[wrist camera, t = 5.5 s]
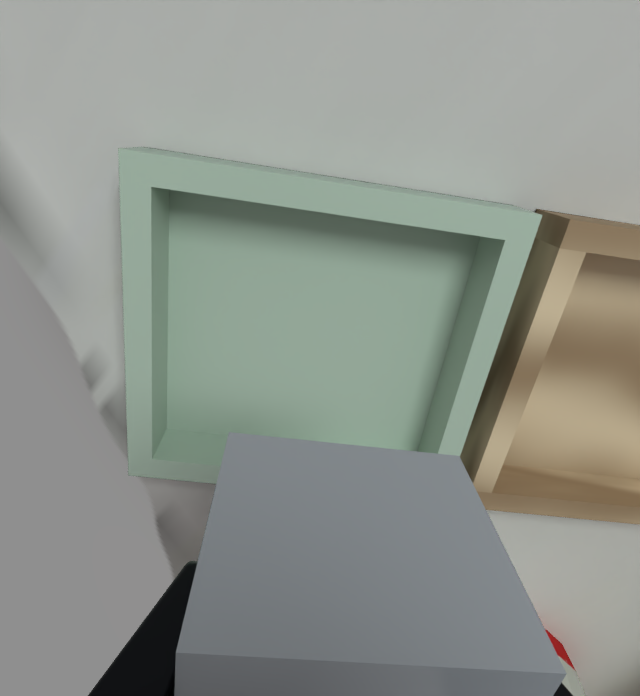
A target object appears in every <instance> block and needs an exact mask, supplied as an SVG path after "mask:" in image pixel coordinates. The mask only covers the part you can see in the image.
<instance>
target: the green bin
mask: <svg viewBox="0 0 640 696" xmlns="http://www.w3.org/2000/svg"><path fill="white" fill-rule="evenodd" d="M118 155H119V187H120V220H121V252H122V284H123V317H124V349H125V381H126V414H127V446H128V475H129V476H138V477H149V478H159V479H170V480H180V481H191V482H201V483H212V484H216V483H217V479H218V475H219V471H220V467H221V463H222V459H223V454H224V450H225V446H226V442H227V438H228V434H229V432H233V433H242V434H252V435H262V436H271V437H281V438H291V439H301V440H310V441H320V442H330V443H339V444H349V445H359V446H368V447H378V448H388V449H398V450H407V451H417V452H427V453H436V454H446V455H456V456H460V455H461V452H462V449H463V446H464V443H465V440H466V438H467V435H468V432H469V429H470V426H471V423H472V420H473V417H474V414H475V411H476V408H477V405H478V402H479V400H480V397H481V394H482V391H483V388H484V385H485V382H486V379H487V376H488V373H489V370H490V367H491V364H492V362H493V359H494V356H495V353H496V350H497V347H498V344H499V341H500V338H501V335H502V332H503V329H504V326H505V324H506V321H507V318H508V315H509V312H510V309H511V306H512V303H513V300H514V297H515V294H516V291H517V288H518V286H519V283H520V280H521V277H522V274H523V271H524V268H525V265H526V262H527V259H528V256H529V253H530V250H531V248H532V245H533V242H534V239H535V236H536V233H537V230H538V227H539V224H540V221H541V218H542V215H541V214H538V213H535V212H532V211H529V210H526V209H523V208H520V207H516V206H513V205H508V204H502V203H496V202H489V201H483V200H477V199H470V198H464V197H458V196H451V195H445V194H439V193H432V192H426V191H420V190H413V189H407V188H401V187H394V186H388V185H382V184H375V183H369V182H363V181H356V180H350V179H344V178H337V177H331V176H325V175H318V174H312V173H306V172H300V171H293V170H287V169H281V168H274V167H268V166H262V165H255V164H249V163H243V162H236V161H230V160H224V159H217V158H211V157H205V156H198V155H192V154H186V153H179V152H173V151H167V150H160V149H154V148H148V147H133V148H118Z"/></svg>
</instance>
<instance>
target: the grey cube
mask: <svg viewBox="0 0 640 696" xmlns="http://www.w3.org/2000/svg"><path fill="white" fill-rule="evenodd" d="M566 674H567V673H566V671H565V669H564V667H563V665H562V663H561V661H560V659H559V657H558V655H557V653H556V651H555V649H554V647H553V645H552V643H551V641H550V639H549V637H548V635H547V633H546V631H545V629H544V627H543V625H542V623H541V621H540V619H539V617H538V614H537V612H536V610H535V608H534V606H533V604H532V602H531V600H530V598H529V596H528V594H527V592H526V590H525V588H524V586H523V584H522V582H521V580H520V578H519V576H518V574H517V572H516V570H515V568H514V566H513V564H512V562H511V560H510V558H509V556H508V554H507V552H506V550H505V548H504V546H503V544H502V542H501V540H500V537H499V535H498V533H497V531H496V529H495V527H494V525H493V523H492V521H491V519H490V517H489V515H488V513H487V511H486V509H485V507H484V505H483V503H482V501H481V499H480V497H479V495H478V493H477V491H476V489H475V487H474V485H473V483H472V481H471V479H470V477H469V475H468V473H467V471H466V469H465V467H464V465H463V463H462V460H461V458H460V456H456V455H446V454H436V453H427V452H417V451H407V450H398V449H388V448H378V447H368V446H359V445H349V444H339V443H330V442H320V441H310V440H301V439H291V438H281V437H271V436H262V435H252V434H242V433H233V432H229V434H228V438H227V442H226V446H225V450H224V454H223V459H222V463H221V467H220V471H219V475H218V479H217V483H216V488H215V492H214V496H213V500H212V504H211V508H210V513H209V517H208V521H207V525H206V529H205V533H204V537H203V542H202V546H201V550H200V554H199V558H198V562H197V567H196V571H195V575H194V579H193V583H192V587H191V591H190V596H189V600H188V604H187V608H186V612H185V616H184V621H183V625H182V629H181V633H180V637H179V641H178V646H177V650H176V661H175V690H174V696H553V695H554V693H555V692H556V690H557V689H558V687H559V686H560V684H561V682H562V681H563V679H564V678H565V676H566Z"/></svg>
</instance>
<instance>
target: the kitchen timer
mask: <svg viewBox="0 0 640 696" xmlns="http://www.w3.org/2000/svg"><path fill="white" fill-rule="evenodd" d="M545 631H546V633H547V635H548V637H549V639H550V641H551V643H552V645H553V647H554V649H555V651H556V653H557V655H558V657H559V659H560V661H561V663H562V665H563V667H564V669H565V671H566V673H567V674H566V676H565V678H564V679H563V681H562V683H563V684H564V685H565V687H566V688H567V689H568V690H569V691H570V692H571V693H572V695H573V696H585V693H584V690H583V688H582V685H581V683H580V680H579V678H578V675H577V673H576V671H575V669H574V667H573V665H572V663H571V661H570V659H569V657H568V655H567V653H566V651H565V649H564V647H563V645H562V644H561V643H560V642H559V641H558V640H557V639H556V638H555V637H554V636H553V635H551V634H550V633H549V632H548V631H547V630H545Z"/></svg>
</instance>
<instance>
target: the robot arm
mask: <svg viewBox="0 0 640 696" xmlns="http://www.w3.org/2000/svg"><path fill="white" fill-rule="evenodd" d="M196 567H197V561H190V562H188V563H187V564H186V565H185V566H184V568H183V569H182V570H181V572H180V573H179V574H178V576H177V577H176V578H175V580H174V581H173V582H172V584H171V585H170V586H169V588H168V589H167V590H166V592H165V593H164V594H163V596H162V597H161V598H160V600H159V601H158V602H157V604H156V605H155V606H154V608H153V609H152V611H151V612H150V613H149V615H148V616H147V617H146V619H145V620H144V621H143V623H142V624H141V625H140V627H139V628H138V629H137V631H136V632H135V633H134V635H133V636H132V637H131V639H130V640H129V641H128V643H127V644H126V645H125V647H124V648H123V649H122V651H121V652H120V653H119V655H118V656H117V658H116V659H115V660H114V662H113V663H112V664H111V666H110V667H109V668H108V670H107V671H106V672H105V674H104V675H103V676H102V678H101V679H100V680H99V682H98V683H97V684H96V686H95V687H94V688H93V690H92V691H91V693H90V694H89V695H88V696H174V690H175V661H176V650H177V646H178V641H179V637H180V633H181V629H182V625H183V621H184V616H185V612H186V608H187V604H188V600H189V596H190V591H191V587H192V583H193V579H194V575H195V571H196ZM553 696H573V695H572V693H571V692H570V691H569V690H568V689H567V688H566V687H565V685H564V684H563V683H562V682H561V684H560V686H559V687H558V689H557V690H556V692H555V693H554V695H553Z"/></svg>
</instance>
